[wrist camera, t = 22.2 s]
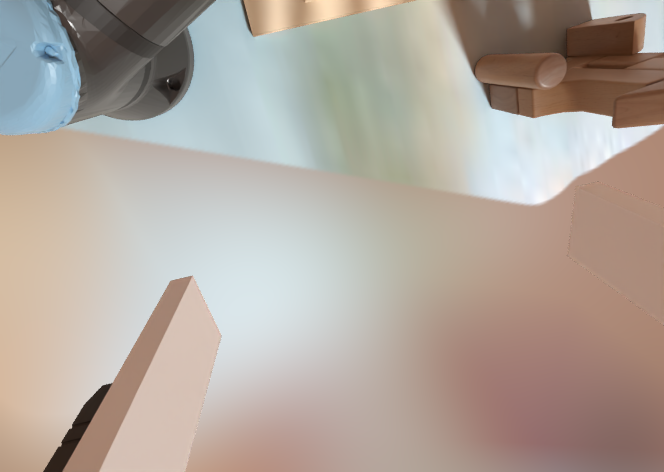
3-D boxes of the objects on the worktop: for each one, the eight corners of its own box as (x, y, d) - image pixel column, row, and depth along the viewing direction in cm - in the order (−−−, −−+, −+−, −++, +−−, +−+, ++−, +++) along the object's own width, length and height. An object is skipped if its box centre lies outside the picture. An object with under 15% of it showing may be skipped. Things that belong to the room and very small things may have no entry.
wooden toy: (594, 15, 43) (922, -34, 20) (593, 73, 46) (876, 85, 23) (471, 59, 44) (656, 59, 21) (478, 113, 47) (645, 161, 24)
